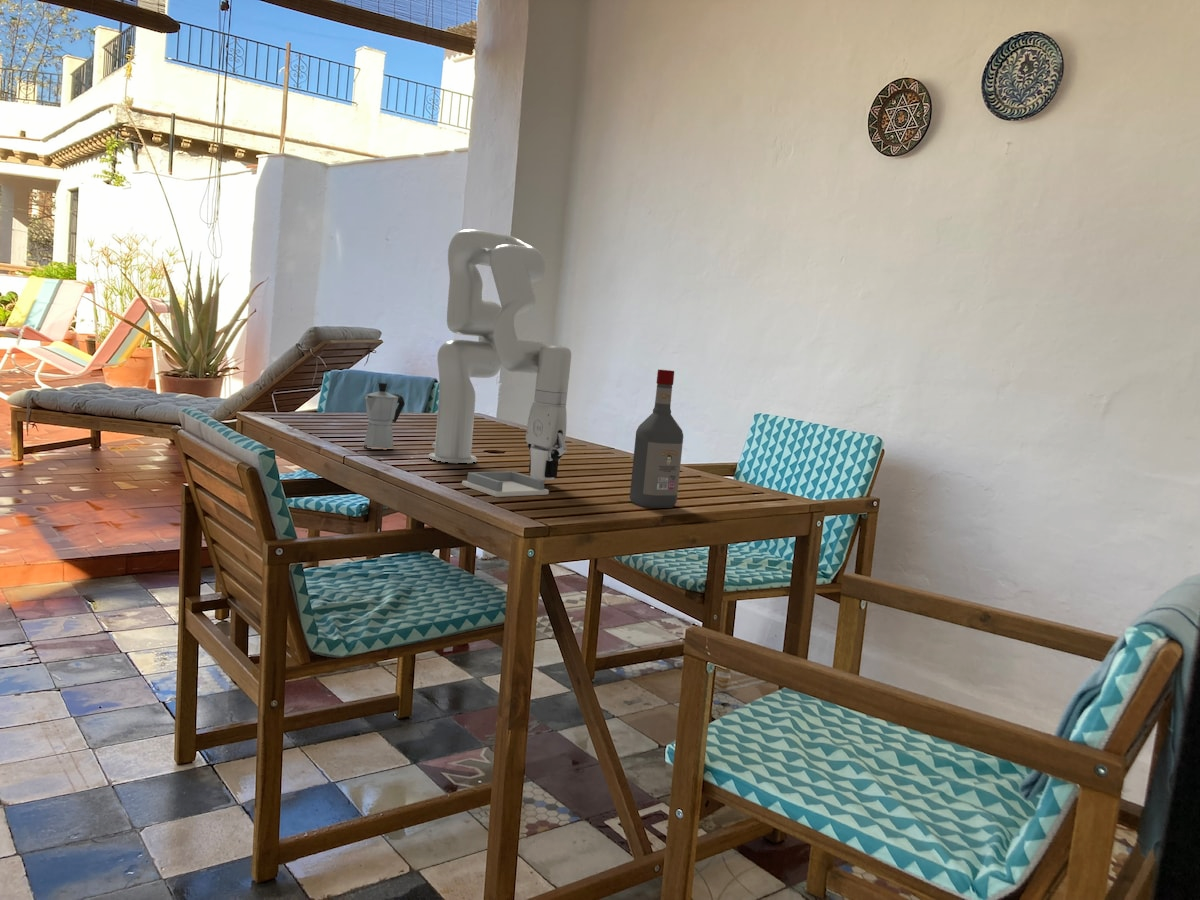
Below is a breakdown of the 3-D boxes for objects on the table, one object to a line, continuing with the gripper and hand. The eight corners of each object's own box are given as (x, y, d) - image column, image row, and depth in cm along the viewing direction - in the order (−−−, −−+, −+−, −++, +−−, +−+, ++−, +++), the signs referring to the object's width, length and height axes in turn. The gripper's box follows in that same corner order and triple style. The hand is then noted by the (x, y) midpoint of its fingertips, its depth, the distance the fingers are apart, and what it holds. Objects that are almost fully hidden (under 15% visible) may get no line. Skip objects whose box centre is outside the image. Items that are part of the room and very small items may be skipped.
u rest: (461, 485, 212) (462, 471, 211) (513, 483, 221) (514, 470, 220) (495, 496, 201) (496, 483, 201) (548, 494, 210) (549, 481, 210)
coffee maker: (373, 451, 251) (377, 384, 249) (350, 446, 255) (354, 380, 253) (412, 448, 263) (416, 384, 261) (389, 444, 268) (393, 381, 266)
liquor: (681, 508, 208) (695, 373, 205) (646, 508, 204) (660, 370, 200) (658, 499, 216) (671, 369, 213) (624, 500, 212) (637, 367, 208)
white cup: (521, 475, 222) (524, 445, 221) (543, 473, 227) (546, 445, 226) (541, 480, 217) (544, 451, 216) (562, 479, 222) (566, 450, 221)
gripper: (516, 393, 223) (509, 467, 226) (559, 403, 210) (551, 482, 213) (542, 394, 228) (534, 467, 231) (585, 404, 215) (577, 481, 218)
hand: (542, 473), depth 222 cm, fingers closed on white cup, 5 cm apart
